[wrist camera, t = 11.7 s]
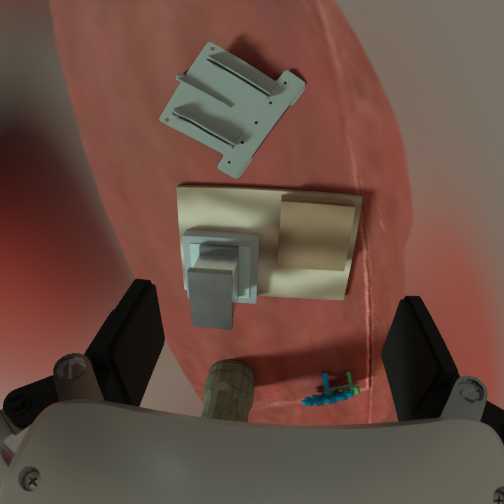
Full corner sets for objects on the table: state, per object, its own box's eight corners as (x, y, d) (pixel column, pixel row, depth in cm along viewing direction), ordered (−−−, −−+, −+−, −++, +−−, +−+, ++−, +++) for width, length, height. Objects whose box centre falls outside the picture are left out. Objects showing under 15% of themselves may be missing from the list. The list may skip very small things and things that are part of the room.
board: (178, 185, 41) (176, 187, 40) (360, 195, 39) (362, 197, 39) (186, 286, 48) (184, 289, 48) (342, 296, 47) (343, 300, 46)
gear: (300, 403, 58) (305, 412, 49) (296, 375, 60) (300, 380, 50) (353, 392, 58) (367, 398, 48) (349, 365, 60) (362, 367, 50)
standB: (186, 229, 43) (181, 236, 41) (259, 233, 42) (258, 240, 40) (190, 290, 47) (187, 298, 46) (257, 295, 47) (256, 304, 45)
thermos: (266, 386, 58) (252, 558, 28) (209, 388, 60) (174, 548, 29) (259, 357, 55) (238, 552, 24) (196, 360, 56) (149, 538, 26)
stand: (281, 195, 39) (281, 201, 37) (351, 200, 39) (355, 207, 37) (277, 257, 44) (276, 267, 41) (341, 261, 43) (344, 271, 41)
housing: (200, 243, 41) (186, 271, 35) (238, 245, 41) (231, 275, 35) (203, 294, 45) (192, 326, 39) (238, 296, 45) (232, 329, 38)
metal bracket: (142, 135, 33) (212, 22, 26) (149, 123, 37) (210, 26, 31) (246, 188, 39) (318, 91, 33) (240, 171, 44) (303, 84, 37)
